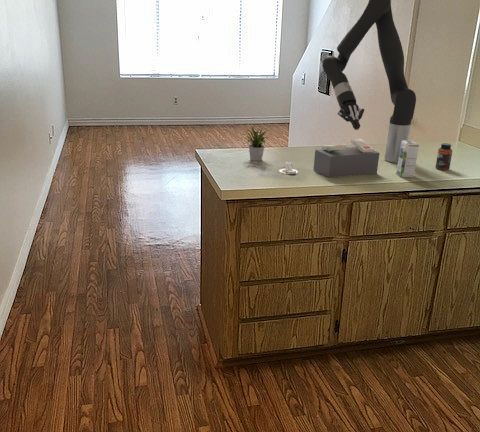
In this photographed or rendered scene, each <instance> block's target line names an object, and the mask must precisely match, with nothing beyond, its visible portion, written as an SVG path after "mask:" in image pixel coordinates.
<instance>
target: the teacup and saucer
mask: <svg viewBox="0 0 480 432" xmlns="http://www.w3.org/2000/svg"><path fill="white" fill-rule="evenodd" d="M284 167H285V168H281V169H279V173H282V174H286V175H296V174H298V173H299V171H298V170H297V169H293V162H291V161H285V163H284ZM284 171H285V172H284Z"/></svg>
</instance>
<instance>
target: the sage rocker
mask: <svg viewBox="0 0 480 432" xmlns="http://www.w3.org/2000/svg"><path fill="white" fill-rule="evenodd" d="M321 149H327V151H339V150H340V149H346V145H341V144H340V145H335V144H330V145H328V144H327V145H321Z"/></svg>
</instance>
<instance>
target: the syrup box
mask: <svg viewBox="0 0 480 432" xmlns="http://www.w3.org/2000/svg"><path fill="white" fill-rule="evenodd" d="M419 147H420V144H419V143H418V142H416V141H415V140H409V139H408V140H404V141H402V142H401V148H400V154H399V160H398V163H397V166H396V167H397V168H396V175H398V176H399V177H400V178H414V176H415V171H416V167H417V166H416V165H417V160H418V153H419Z"/></svg>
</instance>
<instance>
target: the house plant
mask: <svg viewBox="0 0 480 432" xmlns="http://www.w3.org/2000/svg"><path fill="white" fill-rule="evenodd" d="M260 124H261V123H259V124H258V126H257V130H256V131H255V128H254V126H253V125H252V124H250V128H251V130H250V129H249V128H247V126H246V125H243V124H242V126H244V127H245V128H246V130H245V132H246V133H247V134H248V135H249V136H245V139H246V140H247V143H250V144H249V145H248V149H249V151H248V152H249V159H250V160H251V161H254V162H260V161H262V159H263V156H264V151H265V145H264V144H265V143H266V141H269V139H268V138H270V137H267V136H265V134H266V133H267V132H268V131H269V130H271V129H272V127H269V128H268V129H266V130H265V131H263V127H260ZM259 128H260V129H259ZM262 131H263V132H262Z"/></svg>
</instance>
